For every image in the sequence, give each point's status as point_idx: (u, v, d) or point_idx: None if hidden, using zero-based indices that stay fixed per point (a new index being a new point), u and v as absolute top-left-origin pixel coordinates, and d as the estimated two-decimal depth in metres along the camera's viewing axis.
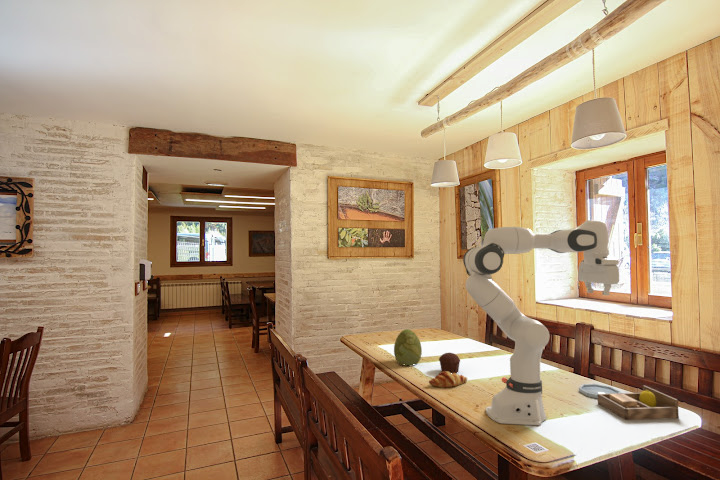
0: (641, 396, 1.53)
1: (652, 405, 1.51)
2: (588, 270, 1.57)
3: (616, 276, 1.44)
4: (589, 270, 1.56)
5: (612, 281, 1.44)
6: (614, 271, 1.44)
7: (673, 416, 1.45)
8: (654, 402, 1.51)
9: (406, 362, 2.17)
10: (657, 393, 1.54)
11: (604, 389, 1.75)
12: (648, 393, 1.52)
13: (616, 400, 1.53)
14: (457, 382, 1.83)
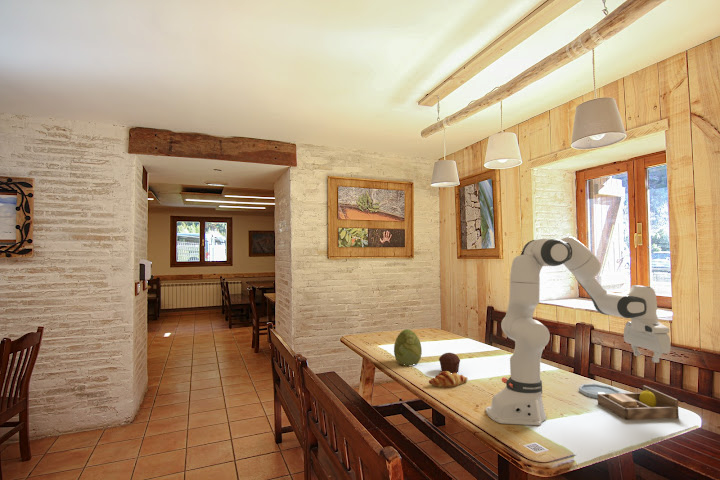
0: (641, 396, 1.53)
1: (652, 405, 1.51)
2: (635, 334, 1.58)
3: (667, 345, 1.44)
4: (637, 334, 1.57)
5: (664, 350, 1.44)
6: (665, 340, 1.45)
7: (673, 416, 1.45)
8: (654, 402, 1.51)
9: (406, 362, 2.17)
10: (657, 393, 1.54)
11: (604, 389, 1.75)
12: (648, 393, 1.52)
13: (615, 400, 1.53)
14: (457, 382, 1.83)
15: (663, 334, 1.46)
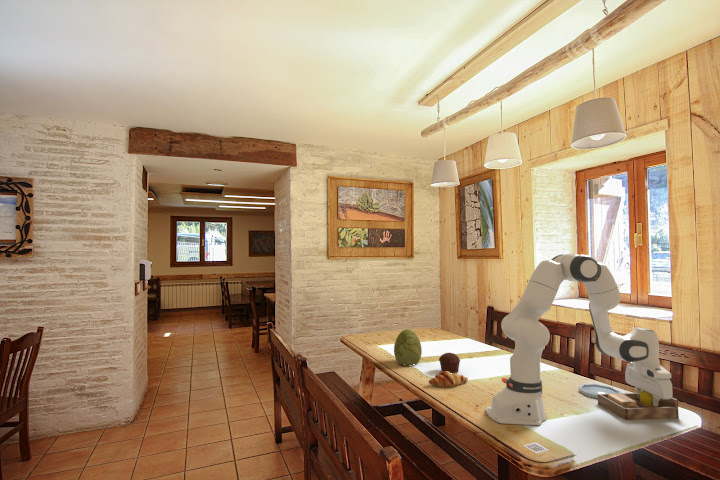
0: (641, 396, 1.53)
1: (652, 405, 1.51)
2: (637, 376, 1.57)
3: (669, 391, 1.44)
4: (638, 376, 1.56)
5: (665, 397, 1.44)
6: (667, 386, 1.44)
7: (673, 416, 1.45)
8: None
9: (406, 362, 2.17)
10: None
11: (604, 389, 1.75)
12: (648, 393, 1.52)
13: (615, 400, 1.53)
14: (457, 382, 1.83)
15: (665, 380, 1.45)
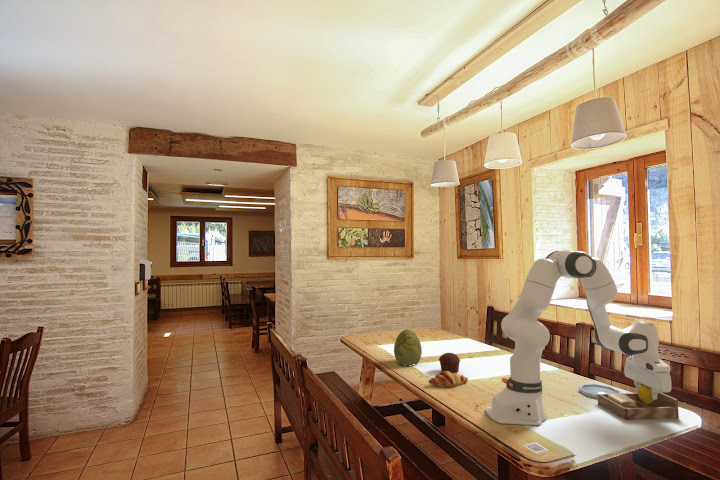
0: (640, 390, 1.54)
1: (650, 399, 1.51)
2: (636, 370, 1.57)
3: (668, 384, 1.44)
4: (637, 370, 1.56)
5: (664, 390, 1.44)
6: (666, 379, 1.44)
7: (673, 416, 1.45)
8: None
9: (406, 362, 2.17)
10: None
11: (604, 389, 1.75)
12: (647, 387, 1.52)
13: (615, 400, 1.53)
14: (457, 382, 1.83)
15: (664, 373, 1.45)
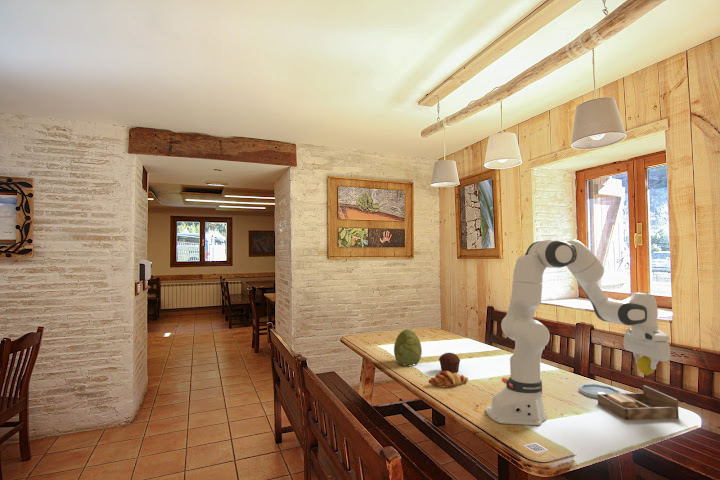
0: (639, 361, 1.54)
1: (650, 370, 1.51)
2: (635, 341, 1.57)
3: (667, 353, 1.44)
4: (637, 341, 1.57)
5: (663, 358, 1.44)
6: (665, 348, 1.45)
7: (673, 416, 1.45)
8: None
9: (406, 362, 2.17)
10: (657, 393, 1.54)
11: (604, 389, 1.75)
12: (646, 358, 1.53)
13: (614, 400, 1.53)
14: (457, 382, 1.83)
15: (663, 342, 1.46)
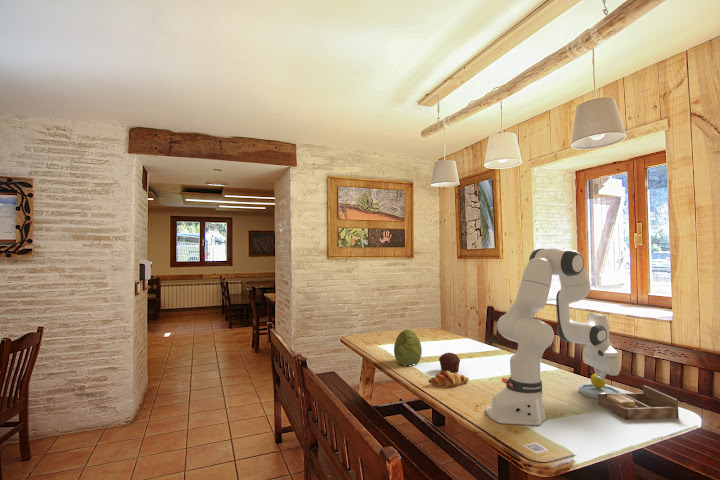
0: (591, 376, 1.77)
1: None
2: (591, 356, 1.76)
3: (617, 368, 1.63)
4: (592, 356, 1.75)
5: (613, 373, 1.63)
6: (615, 364, 1.63)
7: (673, 416, 1.45)
8: None
9: (406, 362, 2.17)
10: (657, 393, 1.54)
11: (604, 389, 1.75)
12: None
13: (614, 401, 1.52)
14: (457, 382, 1.83)
15: (613, 358, 1.64)
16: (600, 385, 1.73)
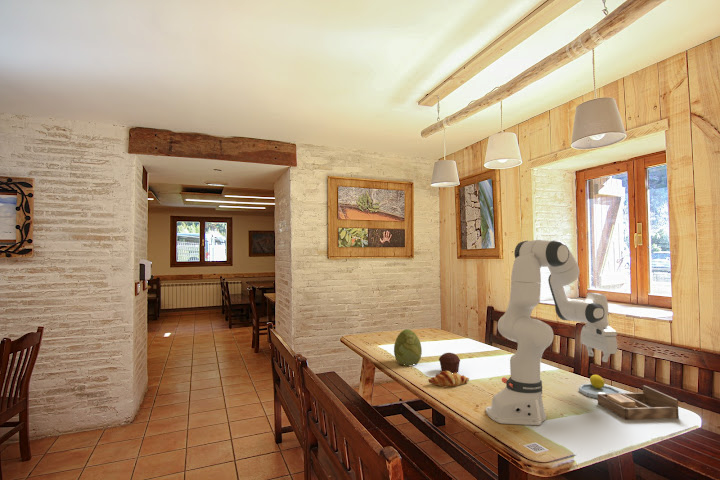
0: (590, 377, 1.79)
1: (599, 377, 1.75)
2: (589, 336, 1.76)
3: (614, 347, 1.63)
4: (590, 336, 1.75)
5: (611, 351, 1.63)
6: (613, 342, 1.63)
7: (673, 416, 1.45)
8: None
9: (406, 362, 2.17)
10: (657, 393, 1.54)
11: (604, 389, 1.75)
12: None
13: (614, 401, 1.52)
14: (457, 382, 1.84)
15: (611, 336, 1.65)
16: (599, 383, 1.74)
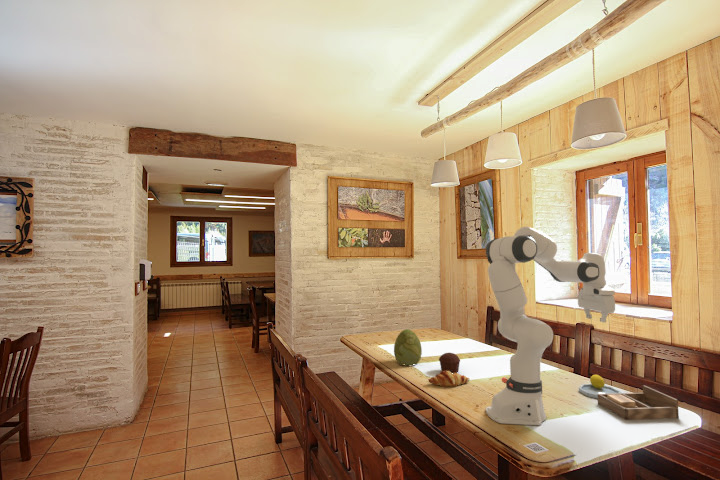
0: (590, 378, 1.79)
1: (600, 377, 1.75)
2: (587, 298, 1.72)
3: (612, 305, 1.59)
4: (588, 298, 1.71)
5: (608, 310, 1.58)
6: (610, 301, 1.59)
7: (673, 416, 1.45)
8: (601, 377, 1.76)
9: (406, 362, 2.17)
10: (657, 393, 1.54)
11: (604, 389, 1.75)
12: None
13: (614, 401, 1.52)
14: (457, 382, 1.84)
15: (609, 296, 1.60)
16: (599, 384, 1.74)
